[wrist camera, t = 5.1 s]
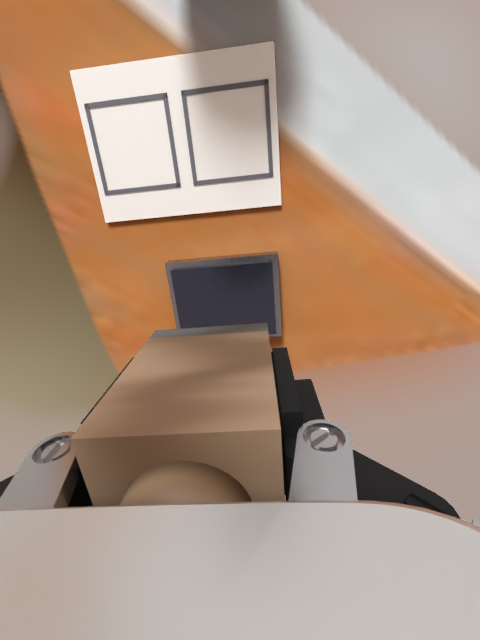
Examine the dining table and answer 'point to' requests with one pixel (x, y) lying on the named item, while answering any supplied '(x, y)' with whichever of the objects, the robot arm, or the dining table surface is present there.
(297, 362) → the dining table surface
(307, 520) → the robot arm
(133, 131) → the sheet
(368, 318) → the dining table surface
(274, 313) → the ink pad
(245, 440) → the stamp
